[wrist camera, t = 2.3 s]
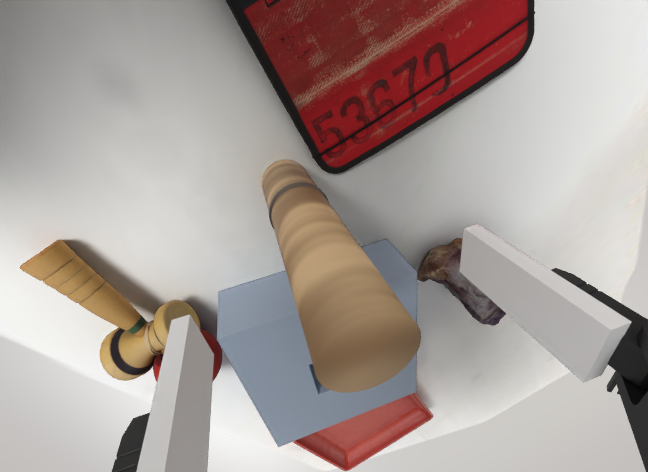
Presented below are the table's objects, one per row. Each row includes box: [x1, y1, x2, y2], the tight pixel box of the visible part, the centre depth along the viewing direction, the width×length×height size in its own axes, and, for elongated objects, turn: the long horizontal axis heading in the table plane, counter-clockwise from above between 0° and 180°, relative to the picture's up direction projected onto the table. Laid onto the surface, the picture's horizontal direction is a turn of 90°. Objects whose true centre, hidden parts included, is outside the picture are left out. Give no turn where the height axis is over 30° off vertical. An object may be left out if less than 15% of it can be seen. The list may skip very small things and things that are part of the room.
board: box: [217, 239, 417, 447], centre depth 33 cm, size 20×18×6 cm
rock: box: [417, 238, 506, 325], centre depth 33 cm, size 12×9×10 cm
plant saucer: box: [293, 392, 433, 471], centre depth 47 cm, size 18×18×3 cm
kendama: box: [20, 240, 222, 382], centre depth 26 cm, size 8×6×18 cm
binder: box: [226, 0, 535, 174], centre depth 21 cm, size 16×2×21 cm
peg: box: [262, 160, 421, 393], centre depth 18 cm, size 4×4×18 cm
